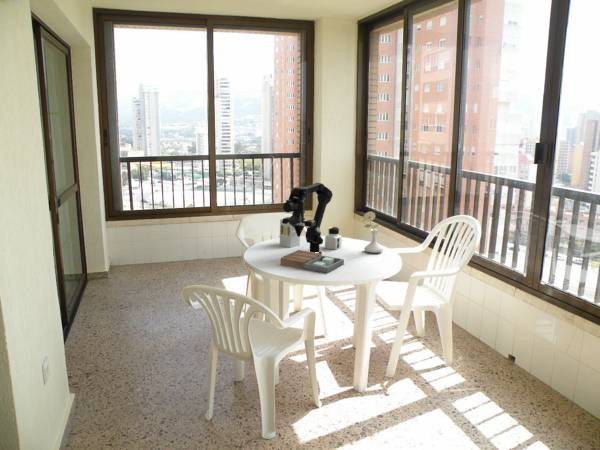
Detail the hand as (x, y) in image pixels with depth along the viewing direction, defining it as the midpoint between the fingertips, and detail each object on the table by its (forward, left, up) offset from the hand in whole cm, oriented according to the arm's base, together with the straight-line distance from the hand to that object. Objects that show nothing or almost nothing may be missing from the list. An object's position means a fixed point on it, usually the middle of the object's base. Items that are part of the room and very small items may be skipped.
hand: (298, 236), depth 299 cm
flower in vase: (-37, +30, -13) cm, 50 cm away
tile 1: (+12, +20, -10) cm, 25 cm away
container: (-32, +6, -13) cm, 35 cm away
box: (+7, +20, -13) cm, 25 cm away
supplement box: (-23, -20, -13) cm, 33 cm away
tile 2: (+1, +20, -10) cm, 22 cm away
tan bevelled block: (+7, +6, -13) cm, 16 cm away
